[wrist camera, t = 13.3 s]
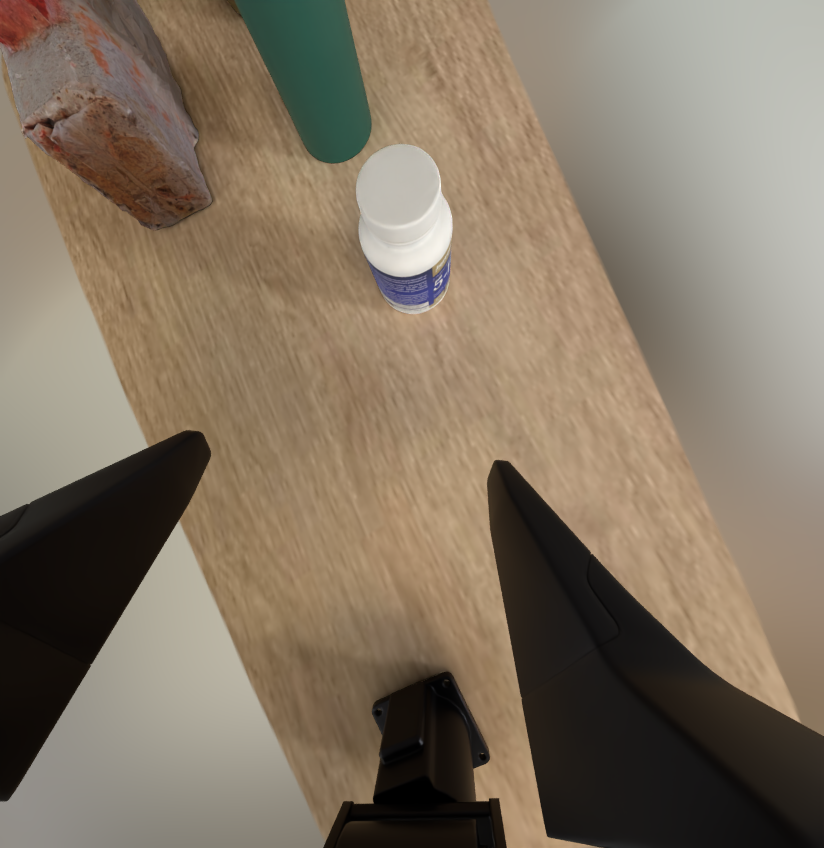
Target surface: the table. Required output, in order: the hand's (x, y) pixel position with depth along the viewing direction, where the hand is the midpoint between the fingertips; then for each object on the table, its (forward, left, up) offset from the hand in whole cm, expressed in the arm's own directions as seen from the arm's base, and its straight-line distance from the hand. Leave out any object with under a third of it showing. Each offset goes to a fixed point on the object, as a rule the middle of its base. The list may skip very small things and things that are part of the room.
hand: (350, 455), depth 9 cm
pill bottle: (+10, -6, -13) cm, 18 cm away
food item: (+30, +7, -13) cm, 34 cm away
